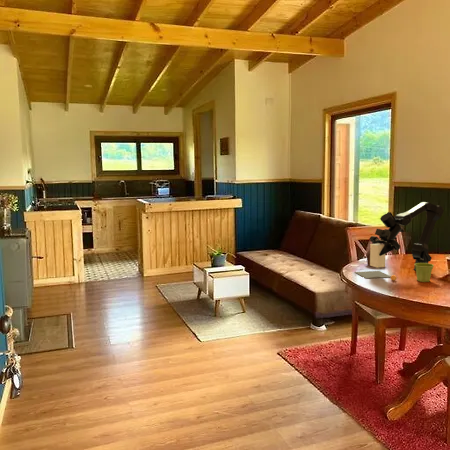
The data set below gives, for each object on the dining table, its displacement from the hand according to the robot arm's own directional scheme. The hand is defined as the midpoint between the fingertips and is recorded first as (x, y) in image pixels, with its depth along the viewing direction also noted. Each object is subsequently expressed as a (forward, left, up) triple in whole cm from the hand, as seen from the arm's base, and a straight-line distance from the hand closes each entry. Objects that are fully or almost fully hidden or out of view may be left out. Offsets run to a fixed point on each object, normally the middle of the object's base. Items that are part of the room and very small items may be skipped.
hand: (375, 254), depth 245 cm
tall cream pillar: (-1, 0, -7) cm, 7 cm away
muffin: (-14, -28, -13) cm, 34 cm away
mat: (-1, -4, -12) cm, 13 cm away
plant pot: (-21, +13, -13) cm, 27 cm away
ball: (-6, +10, -12) cm, 17 cm away
